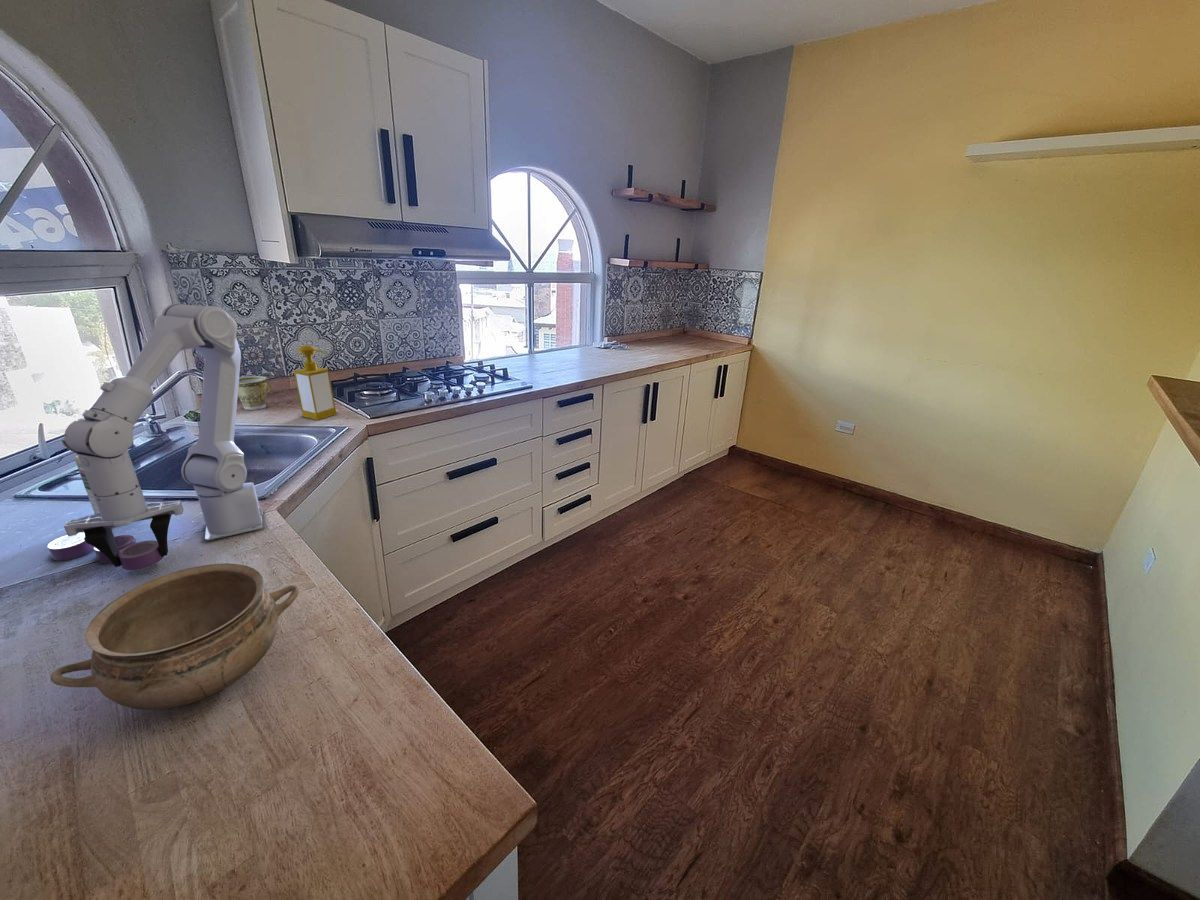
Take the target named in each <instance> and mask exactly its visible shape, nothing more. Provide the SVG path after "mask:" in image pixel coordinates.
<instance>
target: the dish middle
mask: <svg viewBox="0 0 1200 900" xmlns="http://www.w3.org/2000/svg"><path fill="white" fill-rule="evenodd" d="M117 556H118V558H119V561H120V564H121V566H120V567H121V568H122V569H123V570H124V571H139V570H143V569H146V568H149V567H152V566H154V565H156V564H157V563H159V562H161V561H162V560H163V559H164V557H165V556H163V557H162V555H161V553H160V550H159V546H158V542H157V540H155V539H151V540H150V539H149V540H148V539H147V540H143V541H138V542H137V543H134V544H131V545H129V546H127V547H125V548H123V549H122V550H120V551H119V552H118V554H117Z"/></svg>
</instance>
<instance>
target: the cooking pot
mask: <svg viewBox="0 0 1200 900" xmlns="http://www.w3.org/2000/svg"><path fill="white" fill-rule="evenodd" d="M264 583H265V582H264V578H263V575H262V574H261V573H260V571H258V569H257V570H256V569H255V568H254V567H252V566H248V565H246V564H240V563H229V562H228V563H227V562H225V563H224V562H223V563H211V564H204V565H199V566H198V565H197V566H193V567H189V568H185V569H179V570H177V571H173V572H171V573H166V574H165V575H161V576H159V577H156V578H154V579H152V580H149V581H147V582H144V583H142V584H141V585H138V586H136V587H134V588H132V589H130V590H129V591H127V592H126V593H123V594H122V595H119V596H118V597H117V598H116V599H114V600H113V601H111V602H110V603H108V604H107V605H106V606H105V607H103V608H102V610H100V611H99V612H98V613H97V614H96V615H95V616H94V618H92V620H91V621H90V623H89V624H88V626H87V628H86V631H85V635H84V637H85V642H86V644H87V646H88V647H89V649H91V650H92V652H91V658H89V659H86V660H82V661H79V662H74V663H70V664H67V665H63V666H60V667H57V668H56V669H54V671H52V673H51V674H50V681H51V682H52V683H53V684H55V685H56V686H61V687H66V688H97V689H98V691H99V692H100V693H101V694H102V695H103V696H104V697H105V698H107V699H109V700H110V701H112V702H114V703H115V704H117V705H119V706H122V707H127V708H131V709H135V710H146V711H147V710H148V711H154V710H155V711H156V710H167V709H172V708H177V707H182V706H185V705H188V704H192V703H196V702H199V701H201V700H205V698H208V697H211V696H213V695H215V694H216V693H219V692H221V691H223V690H224V689H226V688H228V687H230V686H232V685H233V684H234V683H236V682H238V681H239V680H240V679H242V678H243V677H244V676H246V675H247V674H248V673H249V672H250V671H251V670H252V669H253V668H255V667H256V666H257V665H258V664H259V662H260V661H262V659H263V658H264V657H265V656H266V654H267V652H269V650H270V648H271V646H272V645H273V642H274V640H275V638H276V635H277V632H278V630H279V621H280V615H281V614H282V613H283V612H285V610H286V609H288V608H289V607H290V606H291V605H293V603H294V602H295V600H296V599H297V598H298V595H299V593H300V589H299V586H297V585H295V584H291V585H287V586H285V587H283V588H281V589H278V590H275V591H271V592H269V591H268V590H267V589H266V588H265V586H264ZM289 593H290V594H289ZM287 594H289V596H288V597H287V598H286V599H285V600H284V601H282V602H281V603H276V602H277V601H278V600H280V599H281V598H282V597H284V596H285V595H287ZM87 670H88V671H90V670H91V674H90V675H88V676H83V677H77V678H75V677H67V676H63V675H65V674H69V673H73V672H80V671H87Z"/></svg>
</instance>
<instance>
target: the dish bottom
mask: <svg viewBox="0 0 1200 900" xmlns="http://www.w3.org/2000/svg"><path fill="white" fill-rule="evenodd" d="M114 539H115V542H116V545H117V547H118V549H119V551H120V550H122V549H123V548H125V547H127V546H129V545H131V544H134V543H138V542H137V540H136V537H135V536H134V535H131V534H121V535H116V536H115V535H114ZM93 551H94V553H95V554H94V555H95V557H96V558H97V560H98V563H101V564H110V563H112V562H111V561H110V560H109V559H108V558H107V557H106V556H105V555H104V554H103V553H102V552H101V551H99V550H98V549H97V548H95V547H94V549H93ZM112 564H113V563H112Z"/></svg>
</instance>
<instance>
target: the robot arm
mask: <svg viewBox="0 0 1200 900" xmlns="http://www.w3.org/2000/svg"><path fill="white" fill-rule="evenodd" d="M237 330H238V323H237V322H236V320H234V318H233V317H232V316H231V315H230V314H229V312H227V311H226V310H225V309H223V308H222V307H219V306H216V305H209V306H208V305H207V306H206V305H194V304H185V303H181V302H180V303H179V302H176V303H175V302H174V303H171V304H168V305H167V306H166V307H164V309H163V310H162V312H161V314H160V315H159V316H158V317H156V318H155V320H154V329H153V331H152V333H151V334H150V337H149V338H148V340H147V341H146V342H145V344H144V346H143V348H142V349H141V351H140V352H139V354H138V355H137V357H136V359H135V360H134V362H133V364H132V365H131V367H130V368H129V370H128V371H127V373H126V374H125V375H124V376H118V377H113V378H112V379H110V381H109V382H103V384H101V386H100V387H99V388H100V390H101V392H100V394H99V395H98V396H97V397H96V399H95V400H94V401H93V403H92V404H91V406H90V407H89V408H88V409H85V410H84V411H83V413H82V418H78V419H77V420H74V421H72V422H71V423H69V425H68V426H67V427H66V429H65V431H64V434H63V435H64V438H63V439H62V440H61V443H62V445H63V446H64V448H65V449H66V450H68V451H71V452H73V453H75V454H76V456H77V455H78V457H79V460H80V462H81V465H82V468H83V471H84V473H85V476H86V478H87V481H88V483H89V486H90V489H91V491H92V494H93V496H94V499H95V501H96V504H97V506H98V509H99V511H100V513H97V514H95V513H94V514H90V515H87V516H83V517H79V518H75V519H70V520H66V522H65V524H64V525H63V527H64V530H65V532H66V534H67V535H68V536H73V535H77V534H78V533H85V537H84V540H85V541H86V543H88V544H90V545H92V546H93V547H95V548H97V549H98V550H99V551H101V552H102V553H103V554H104V555H105V556H106V557H107V558H108V559H109V560H110V561H111V562H112V564H113V566H114V567H115V568H118V567H122V566H121V564H120V561H119V558H118V556H117V554H118V552H119V549H118V547H117V545H116V542H115V539H114V537H115V535H114V532H113V529H112V527H114V528H120V527H125V526H130V525H131V524H132V523H135V522H140V521H141V522H142V521H146V520H151V522H150V523H149V528H150V530H151V531H152V534H153V535H154V537H155V541H157V542H158V546H159V550H160V553H161V555H162V557H163V556H164V557H167V556H168V554H169V546H168V531H169V527H170V524H171V523H170V522H171V519H172V516H173V515H174V516H179V515H180V516H181V515H183V513H184V507H183V503H182V500H181V499H179V500H172V501H161V502H160V501H159V502H146V499H145V496H144V493H143V490H142V487H141V485H140V482H139V479H138V476H137V474H136V470H135V467H134V464H133V462H132V459H131V456H130V453H129V450H128V449H130V448H131V447H132V446H133V443H134V434H133V430H134V429H135V425H136V423H138V421H139V419H140V418H141V416H142V415H143V414H144V412H145V410H147V408H148V406H149V405H150V404H151V402H152V400H153V399H154V398H155V396H154V392H153V390H152V386H153V384H154V383H155V382H156V381H157V380H158V379H159V377H160V376H161V375H162V374H163V372H164V371H165V370H166V369H167V368H168V367H169V365H170V364H171V363H172V362H173V361H174V359H175V358H176V357H177V356H178V355H179V354H180V352H181V351H185V350H190V349H194V350H195V351H196V352H197V353H198V354H199V355H200V356H201V357H202V358H203V359H204V365H203V376H202V378H203V379H202V388H201V389H202V391H201V401H200V414H199V425H198V426H199V428H198V439H197V440H196V441H195V442H194V443H192V445H191V446H189V447H188V449H187V455H186V457H185V460H184V461H183V463H182V465H181V468H180V473H181V477H182V479H183V480H184V482H186V483H187V484H189V485H191V486H192V487H193V490H194V491H195V493H196V496H197V499H198V503H199V505H200V509H201V512H202V515H203V519H204V522H205V532H204V541H205V542H209V541H213V540H217V539H221V538H226V537H227V538H228V537H230V536H235V535H239V534H240V535H241V534H244V533H249V532H253V531H257V530H262V529H263V528H264V527H263V517H262V516H263V515H264V514H263V509H262V506H260V502H259V498H258V494H257V490H256V486H255V483H254V482H246V481H247V476H248V470H247V466H246V464H245V454H244V452H243V451H242V450H241V449H240V448H239V447H238V445H236V443H235V431H236V419H237V409H238V398H239V396H238V385H239V378H240V371H241V363H242V362H241V360H242V352H241V349H240V344H239V342H238V339H237ZM164 557H163V558H164Z"/></svg>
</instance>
